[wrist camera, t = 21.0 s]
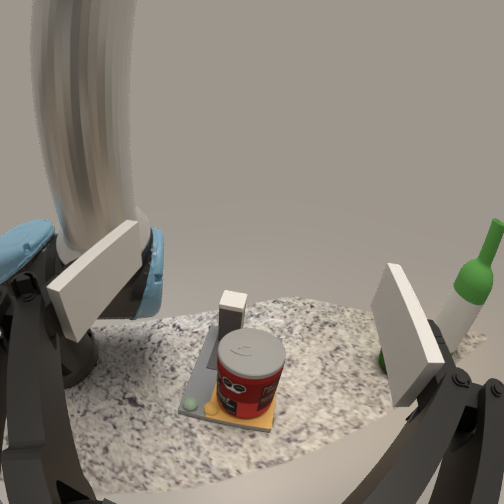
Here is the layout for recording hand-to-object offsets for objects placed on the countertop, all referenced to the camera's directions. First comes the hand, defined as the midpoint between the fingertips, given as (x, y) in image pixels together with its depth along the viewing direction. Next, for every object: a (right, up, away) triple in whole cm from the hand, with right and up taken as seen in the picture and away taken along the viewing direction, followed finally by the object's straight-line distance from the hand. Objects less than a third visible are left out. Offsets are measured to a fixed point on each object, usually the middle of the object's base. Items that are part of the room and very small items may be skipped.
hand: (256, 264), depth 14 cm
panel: (-3, -19, +28) cm, 34 cm away
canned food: (-1, -20, +23) cm, 31 cm away
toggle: (-4, -14, +34) cm, 37 cm away
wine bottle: (+38, -21, +34) cm, 55 cm away
